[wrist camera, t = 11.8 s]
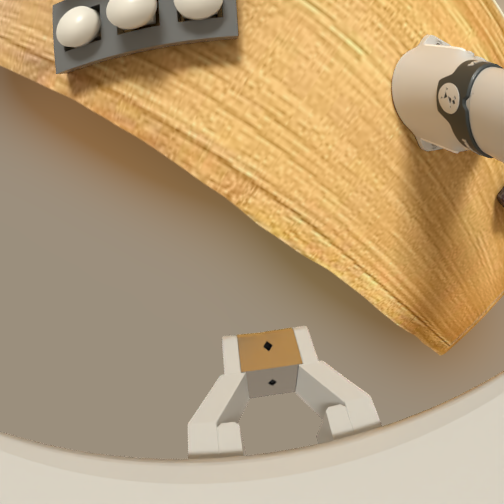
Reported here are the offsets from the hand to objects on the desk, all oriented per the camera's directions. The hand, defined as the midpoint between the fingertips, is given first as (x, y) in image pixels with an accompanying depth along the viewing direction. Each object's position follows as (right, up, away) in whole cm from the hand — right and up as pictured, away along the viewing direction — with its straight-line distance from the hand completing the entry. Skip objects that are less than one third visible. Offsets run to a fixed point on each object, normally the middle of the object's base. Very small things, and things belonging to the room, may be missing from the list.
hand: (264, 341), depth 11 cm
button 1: (-20, +31, +14) cm, 39 cm away
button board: (-13, +31, +15) cm, 37 cm away
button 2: (-6, +32, +15) cm, 36 cm away
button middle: (-13, +30, +13) cm, 36 cm away
